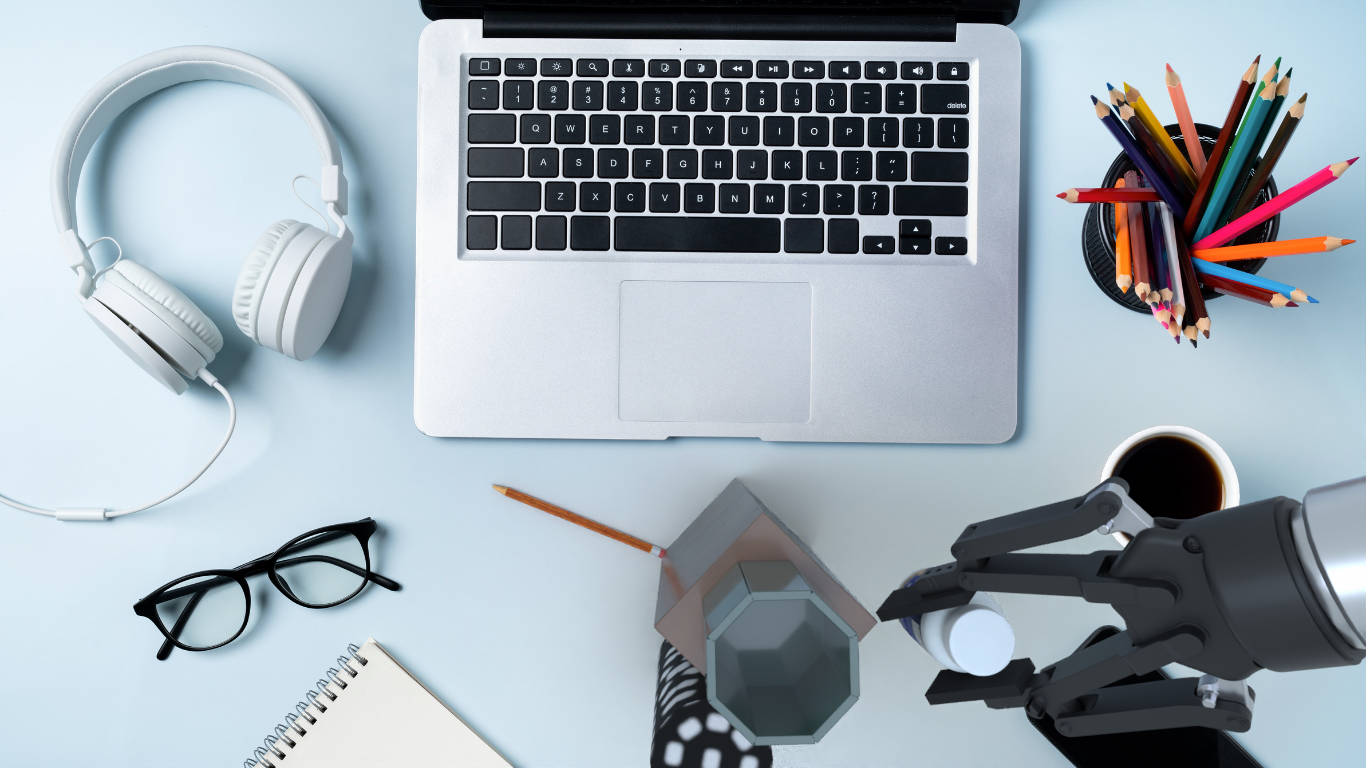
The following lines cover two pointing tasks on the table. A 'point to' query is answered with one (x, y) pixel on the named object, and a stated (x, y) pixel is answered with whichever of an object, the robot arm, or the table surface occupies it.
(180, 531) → the table surface
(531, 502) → the pencil
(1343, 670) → the table surface
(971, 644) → the pill bottle
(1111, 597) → the robot arm
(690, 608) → the stand
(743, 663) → the cup
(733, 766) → the white-spotted black cylinder
